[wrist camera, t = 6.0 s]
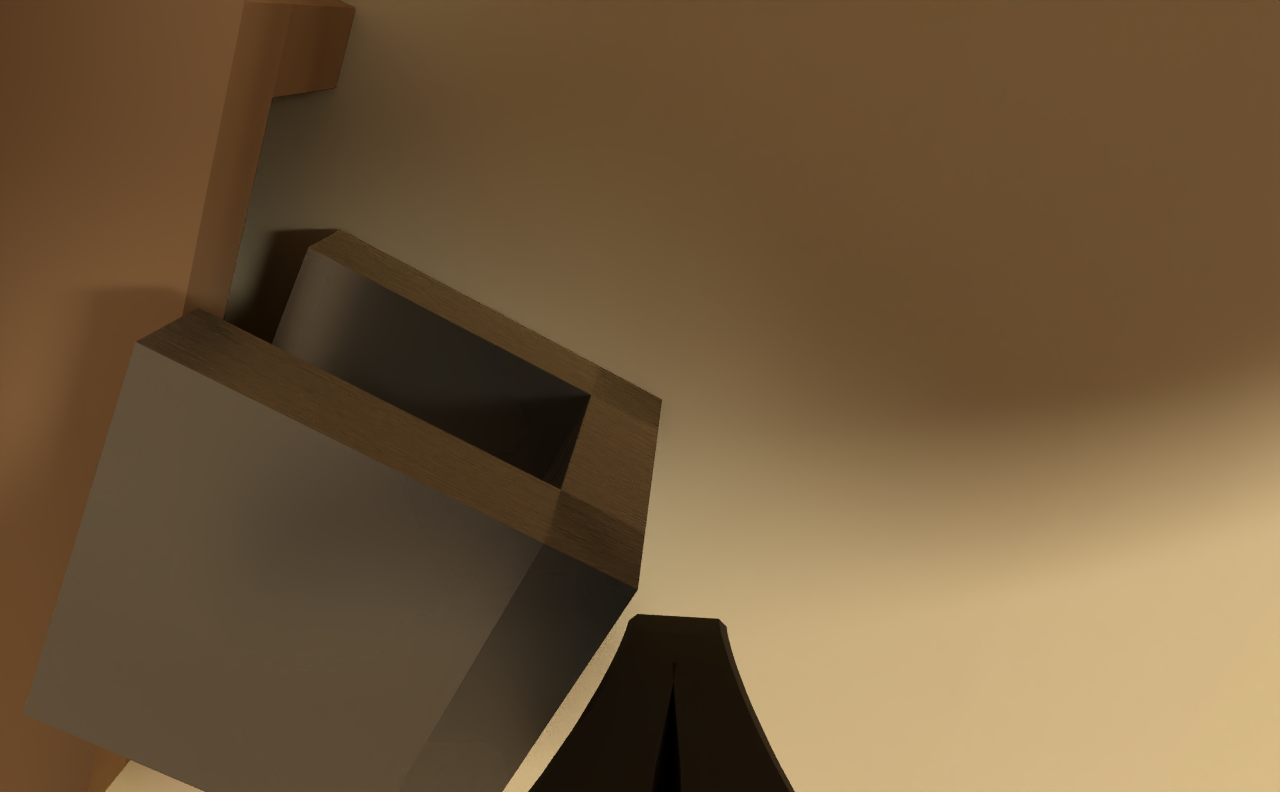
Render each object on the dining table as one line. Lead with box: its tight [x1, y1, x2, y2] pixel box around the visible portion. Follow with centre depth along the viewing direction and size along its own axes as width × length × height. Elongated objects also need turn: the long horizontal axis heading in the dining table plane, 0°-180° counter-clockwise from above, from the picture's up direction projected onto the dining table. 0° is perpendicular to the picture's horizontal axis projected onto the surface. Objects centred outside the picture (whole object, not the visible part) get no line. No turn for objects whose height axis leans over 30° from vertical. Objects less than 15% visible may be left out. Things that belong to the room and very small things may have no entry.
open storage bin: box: [23, 230, 662, 792], centre depth 11 cm, size 5×5×4 cm
